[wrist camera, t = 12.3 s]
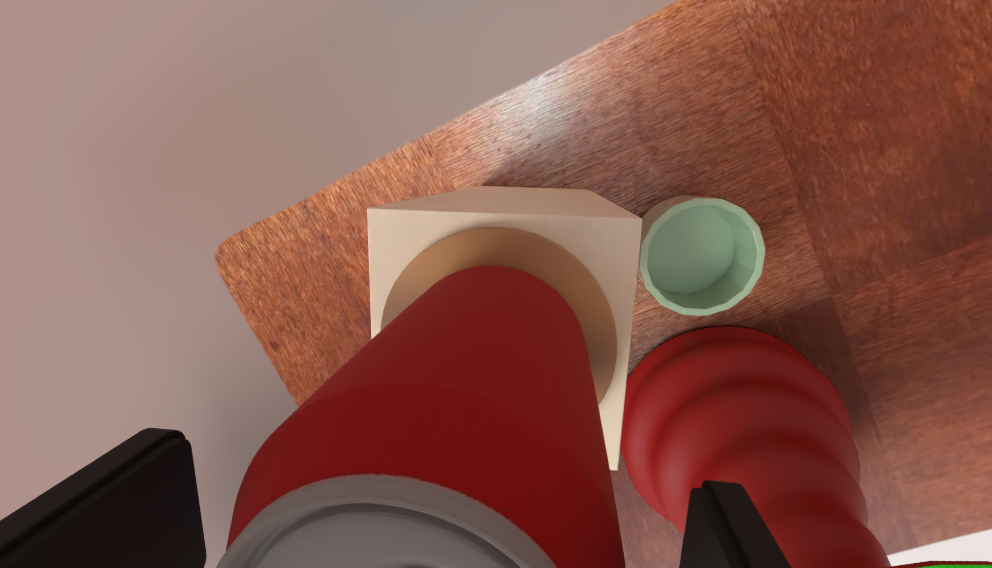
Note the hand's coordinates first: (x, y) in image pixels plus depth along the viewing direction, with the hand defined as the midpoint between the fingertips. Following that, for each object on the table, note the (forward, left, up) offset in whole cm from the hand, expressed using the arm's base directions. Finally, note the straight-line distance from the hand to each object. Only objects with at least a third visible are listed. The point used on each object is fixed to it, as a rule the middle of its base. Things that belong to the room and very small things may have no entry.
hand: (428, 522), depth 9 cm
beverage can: (0, 0, -10) cm, 10 cm away
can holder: (0, +14, -38) cm, 40 cm away
